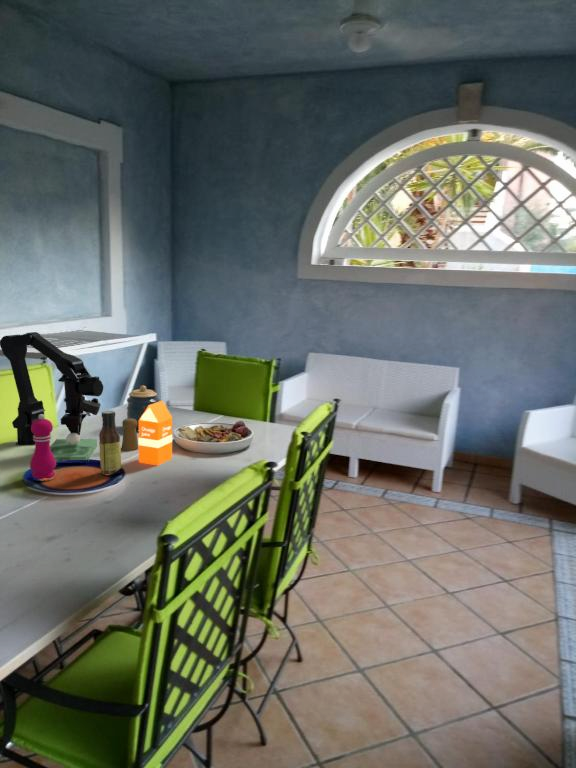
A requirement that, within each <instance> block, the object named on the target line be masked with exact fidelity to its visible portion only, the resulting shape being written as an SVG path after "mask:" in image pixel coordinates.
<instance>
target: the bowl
mask: <svg viewBox="0 0 576 768" xmlns="http://www.w3.org/2000/svg"><path fill="white" fill-rule="evenodd" d="M172 436H173V440H174V441H175V444H177V445H178V446H179V447H180V448H182V449H184V450H187V451H188V452H189V451H190V452H194V453H198V452H199V454H208V455H209V454H213V455H214V454H229V453H235V452H238V451H241V450H243V449H246V448H247V447H249V445H250V444H251V443H252V442H253V439H254V431H253V430H252V429H251V428H250V427H247V426H246V423H245V422H244V421H242V420H238V421H236V422H235V423H231V422H230V423H229V422H216V421H215V422H213V421H212V422H210V421H209V422H195V423H188V424H184V425H181V426H178V427H177V428H175V429H174V430H173V432H172Z"/></svg>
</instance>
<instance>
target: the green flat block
mask: <svg viewBox="0 0 576 768" xmlns="http://www.w3.org/2000/svg"><path fill="white" fill-rule="evenodd" d="M97 447H98V439H97V438H96V439H95V438H87V439H86V438H85V439H84V438H83V439H82V438H80V441H79V443H78V444H77V445H75V446H71V445H69V444H68V443H67V441H66V438H62V439H60V438H59V439H58V438H56V439H55V440H54V442H53V443H52V444H51V445H50V450H51V452H52V454H53V456H54V458H55V460H56V461H63V460H87V459H89V460H90V459H91V457H92V455H93V453H94V452H95V451H96V448H97Z"/></svg>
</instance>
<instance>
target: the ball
mask: <svg viewBox="0 0 576 768" xmlns="http://www.w3.org/2000/svg"><path fill="white" fill-rule="evenodd" d="M65 439H66V441H67V443H68V444H69V445H71V446H75V445H77V444H78V443H79V441H80V439H81V437H80V435H78V434H77V433H69V434H67V435H66V438H65Z"/></svg>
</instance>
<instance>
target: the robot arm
mask: <svg viewBox="0 0 576 768" xmlns="http://www.w3.org/2000/svg"><path fill="white" fill-rule="evenodd" d="M28 346H31V347H32V348H34V349H35V350H36V351H37V352H39V353H40V354H42V356H45V357H46V358H48V359H49V360H50V361H51V362H53V363H54V364H55V367H56V369H57V370H58V371H59V372H60V373H61V374H62V375H61V377H60V378H59V379H58V382H61V383H63V384H64V399H63V402H65V409H64V411H65V412H64V413H65V414H64V415H62V417H61V418H60V425H63V426H64V425H65V426H66V427H67V429H68V431H69V432H70V433H77V434H78V435H79V436H80V435H81V429H82V423H83V421H84V419H85V418H86V417H87V415H88V414H87V413H89V414H92V415H94V416H97V415H98V413H99V410H100V409H101V408H100V407H101V403H100V402H99V399H98V398H96V397H100V396H101V395H102V394H103V391H104V384H103V382H102V380H100V376H92V375H91V374H90V372H89V370H88V369H87V367H86V366H85V364H84V363H85V362H84V361H83V359H81V358H80V357H77V356H75V355H73V354H70V353H66V352H64V351H62V350H61V349H60V348H59V347H57V346H56V345H54V344H53V343H52V342H50V341H49V340H48V339H46V338H44V336H42V335H41V333H40V332H37V331H33V332H32V331H31V332H26V333H24V334H12V335H11V334H10V335H4V336H2V337H1V339H0V349H1V352H2V355H4V356H5V357H6V358H7V360H8V361H9V362H10V367H11V370H12V371H11V372H12V374H13V378H14V383H15V386H16V390H17V393H18V398H19V403H18V406H17V416H16V417H15V418H14V420H13V421H12V422H11V424H12V426H13V429H16V434H17V435H16V438H17V441H16V443H15V445H16V446H17V445H18V446H19V445H20V446H21V445H26V446H27V445H28V446H29V445H30V446H31V445H35V441H34V440H33V439H34V438H33V436H34V434H33V433H32V431H31V425H32V423H33V422H34V421H35V420H38V419H39V418H38V416H39V415H40V414H43V415H44V416H45V411H46V409H45V408H44V403H43V400H38V399H37V398H36V397H35V393H34V389H33V386H32V385H33V384H32V381H31V377H30V373H29V370H28V365H27V362H26V356H27V352H28ZM86 396H90V397H93V398H92V399H91V400H90V399H89V400H88V399H85V398H86ZM84 412H85V413H84ZM70 433H69V434H70Z"/></svg>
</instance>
